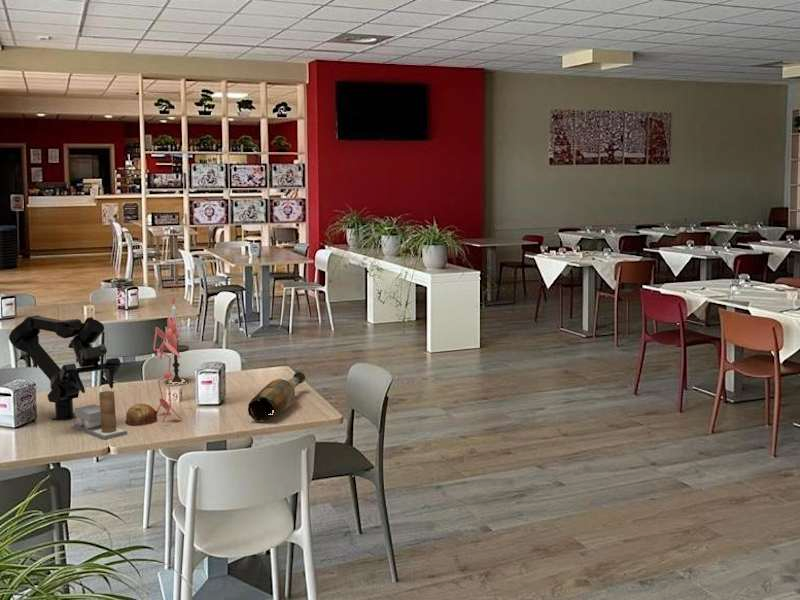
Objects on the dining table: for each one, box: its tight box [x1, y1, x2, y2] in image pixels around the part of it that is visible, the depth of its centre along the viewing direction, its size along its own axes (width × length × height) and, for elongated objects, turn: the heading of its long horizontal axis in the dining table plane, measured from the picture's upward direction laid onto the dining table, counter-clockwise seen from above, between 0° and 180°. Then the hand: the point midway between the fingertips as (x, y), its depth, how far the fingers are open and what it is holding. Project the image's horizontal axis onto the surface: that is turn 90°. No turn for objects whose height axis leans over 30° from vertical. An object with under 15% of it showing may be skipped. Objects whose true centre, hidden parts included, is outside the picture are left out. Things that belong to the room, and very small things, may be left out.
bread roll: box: [124, 403, 158, 427], centre depth 291 cm, size 10×10×8 cm
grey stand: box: [72, 403, 128, 441], centre depth 280 cm, size 20×8×6 cm, turn 47°
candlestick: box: [160, 296, 190, 385], centre depth 343 cm, size 11×11×35 cm
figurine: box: [152, 315, 198, 427], centre depth 295 cm, size 15×26×35 cm, turn 30°
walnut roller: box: [98, 390, 117, 433], centre depth 275 cm, size 4×4×12 cm
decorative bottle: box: [247, 371, 306, 424], centre depth 309 cm, size 11×11×45 cm
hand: (98, 390), depth 280 cm, fingers open, 9 cm apart
